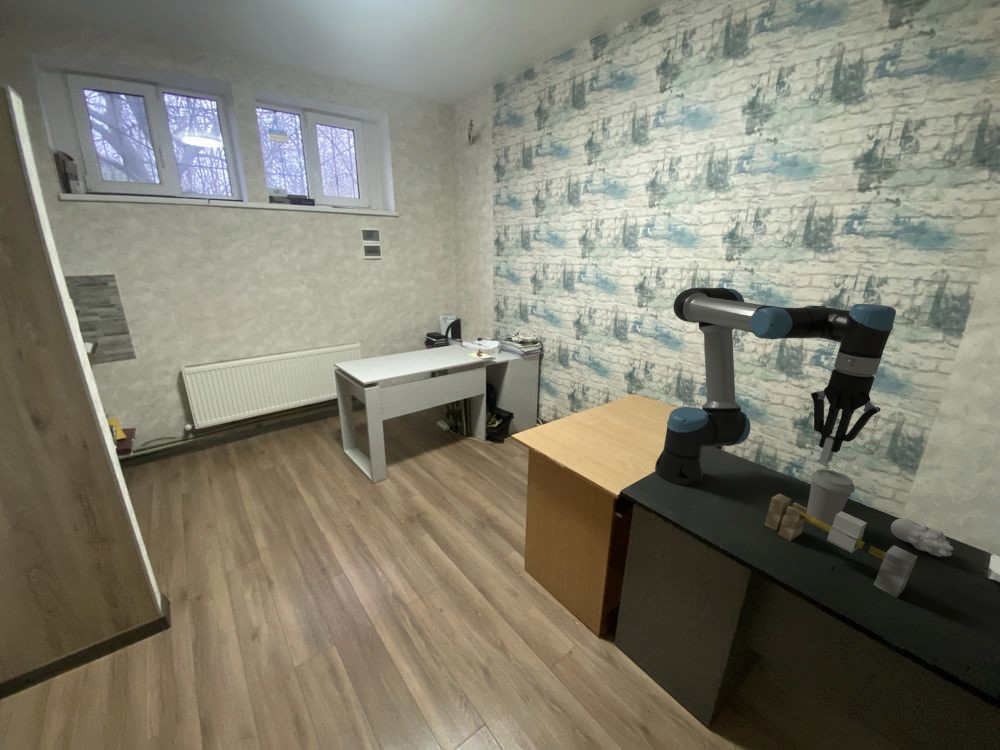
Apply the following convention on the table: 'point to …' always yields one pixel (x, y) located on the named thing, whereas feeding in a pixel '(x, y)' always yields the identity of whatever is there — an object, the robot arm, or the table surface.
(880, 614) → the table surface
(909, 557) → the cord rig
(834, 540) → the grey stepped block
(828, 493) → the coffee cup
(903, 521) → the figurine
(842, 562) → the table surface
